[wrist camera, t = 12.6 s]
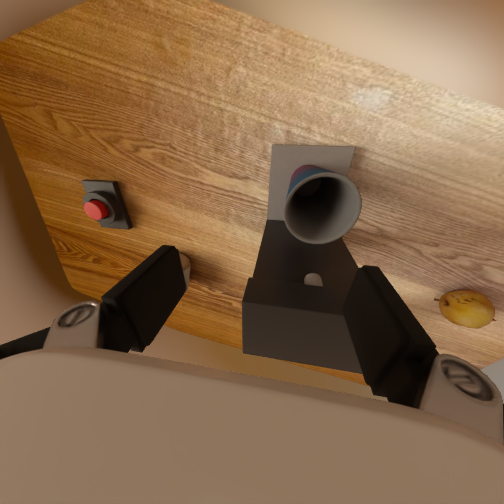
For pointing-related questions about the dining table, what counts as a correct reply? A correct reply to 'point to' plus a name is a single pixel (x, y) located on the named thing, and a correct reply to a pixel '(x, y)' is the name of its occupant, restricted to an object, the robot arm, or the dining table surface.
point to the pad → (108, 202)
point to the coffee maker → (300, 277)
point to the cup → (321, 205)
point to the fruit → (467, 308)
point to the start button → (96, 209)
